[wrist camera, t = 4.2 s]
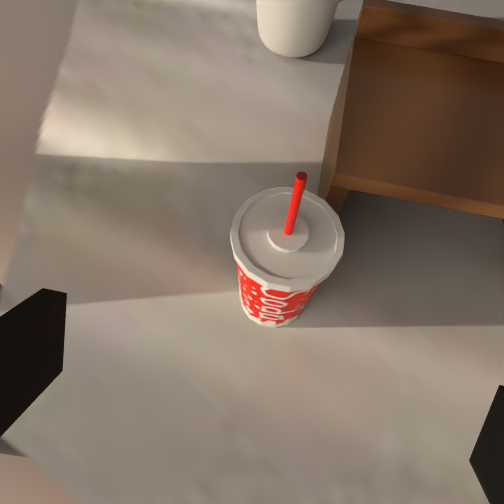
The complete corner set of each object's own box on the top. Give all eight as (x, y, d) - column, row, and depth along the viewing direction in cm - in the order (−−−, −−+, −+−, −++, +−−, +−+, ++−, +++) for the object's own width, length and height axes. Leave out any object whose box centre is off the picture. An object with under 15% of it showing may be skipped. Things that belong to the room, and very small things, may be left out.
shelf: (309, 247, 34) (344, 145, 24) (329, 120, 40) (364, -5, 30) (524, 289, 33) (654, 204, 23) (512, 153, 39) (611, 38, 29)
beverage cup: (215, 318, 31) (207, 207, 19) (248, 246, 34) (261, 106, 21) (299, 352, 30) (350, 259, 18) (326, 275, 33) (387, 147, 21)
